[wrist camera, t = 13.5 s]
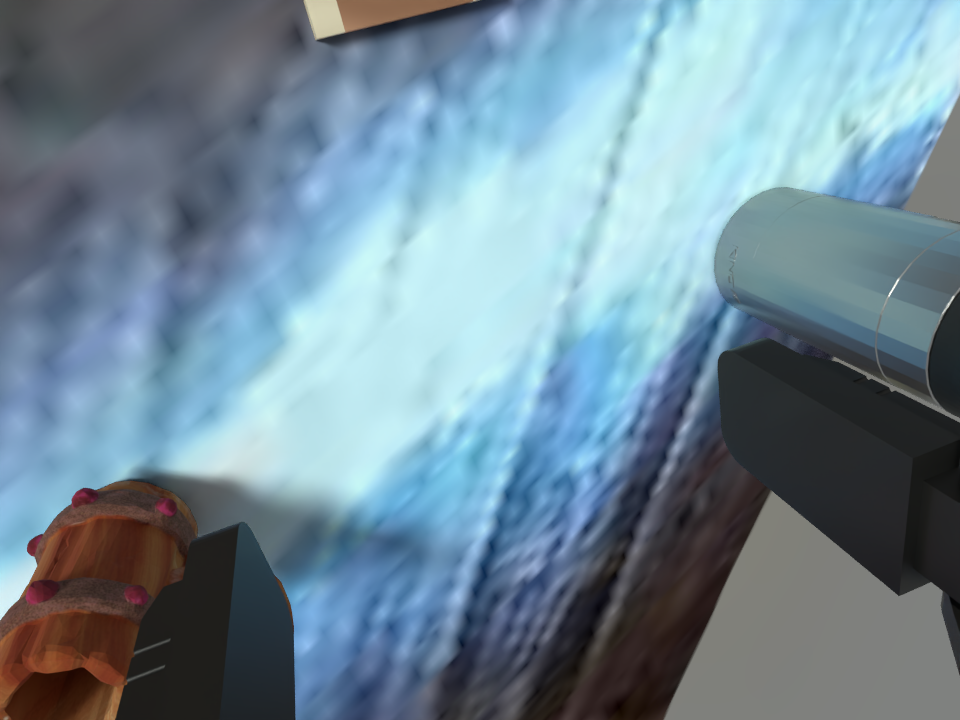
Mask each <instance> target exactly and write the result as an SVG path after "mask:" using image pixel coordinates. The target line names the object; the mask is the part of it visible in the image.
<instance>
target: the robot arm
mask: <svg viewBox="0 0 960 720" xmlns="http://www.w3.org/2000/svg"><path fill="white" fill-rule="evenodd" d="M714 273H715V279H716V283H717V286H718V288H719V291H720V293H721V294H722V296H723V297H724V298H725V300H726V301H727V302H728V303H730V304H731V305H732V306H734V307H735V308H737V309H739V310H741V311H743V312H745V313H747V314H749V315H751V316H753V317H755V318H757V319H759V320H761V321H763V322H765V323H767V324H769V325H771V326H773V327H775V328H777V329H779V330H781V331H783V332H785V333H787V334H789V335H791V336H793V337H795V338H797V339H799V340H802V341H804V342H806V343H808V344H810V345H812V346H814V347H816V348H818V349H820V350H822V351H824V352H826V353H828V354H830V355H832V356H834V357H836V358H839V359H840V360H842V361H844V362H846V363H848V364H851V365H853V366H855V367H857V368H859V369H861V370H863V371H865V372H867V373H869V374H871V375H873V376H875V377H877V378H879V379H881V380H883V381H885V382H887V383H889V384H891V385H893V386H895V387H897V388H900V389H902V390H904V391H906V392H908V393H910V394H912V395H914V396H916V397H918V398H921V399H922V400H924V401H927V402H929V403H930V404H933V405H935V406H937V407H939V408H941V409H943V410H945V411H947V412H949V413H951V414H953V415H955V416H957V417H959V418H960V222H956V221H952V220H947V219H942V218H937V217H935V216H930V215H925V214H920V213H915V212H910V211H905V210H900V209H895V208H890V207H885V206H880V205H875V204H870V203H865V202H860V201H855V200H850V199H846V198H841V197H836V196H831V195H826V194H818V193H813V192H808V191H803V190H798V189H793V188H788V187H785V188H774V189H770V190H767V191H764V192H762V193H760V194H758V195H756V196H754V197H753V198H751V199H750V200H749V201H747V202H746V203H745V204H744V205H742V206H741V207H740V208H739V209H738V211H737V212H736V213H735V214H734V215H733V216H732V217H731V219H730V220H729V222H728V224H727V225H726V227H725V229H724V230H723V232H722V235H721V237H720V240H719V242H718V245H717V249H716V254H715V262H714ZM718 381H719V397H720V412H721V428H722V434H723V438H724V441H725V443H726V446H727V447H728V449H729V451H730V453H731V454H732V456H733V457H734V459H735V460H736V461H737V462H738V463H739V464H740V465H741V466H743V467H744V468H745V469H746V470H747V471H749V472H750V473H751V474H752V475H753V476H755V477H756V478H757V479H758V480H760V481H761V482H762V483H763V484H764V485H766V486H767V487H768V488H769V489H770V490H772V491H773V492H774V493H775V494H776V495H778V496H779V497H780V498H781V499H782V500H784V501H785V502H786V503H787V504H789V505H790V506H791V507H792V508H794V509H795V510H796V511H797V512H798V513H799V514H801V515H802V516H803V517H804V518H805V519H807V520H808V521H809V522H810V523H811V524H813V525H814V526H815V527H816V528H818V529H819V530H820V531H821V532H822V533H824V534H825V535H826V536H827V537H829V538H830V539H831V540H832V541H833V542H834V543H836V544H837V545H838V546H839V547H840V548H842V549H843V550H844V551H845V552H847V553H848V554H849V555H850V556H851V557H853V558H854V559H855V560H856V561H857V562H859V563H860V564H861V565H862V566H864V567H865V568H866V569H867V570H868V571H870V572H871V573H872V574H873V575H874V576H875V577H877V578H878V579H879V580H880V581H882V582H883V583H884V584H885V585H886V586H888V587H889V588H890V589H891V590H893V591H894V592H895V593H896V594H897V595H898V596H900V595H903V594H905V593H907V592H909V591H912V590H914V589H916V588H918V587H921V586H923V585H925V584H927V583H930V582H932V583H933V584H935V585H936V586H937V587H939V588H940V589H941V590H942V591H943V593H942V601H941V610H942V614H943V617H944V621H945V625H946V628H947V631H948V635H949V638H950V642H951V646H952V650H953V653H954V657H955V660H956V664H957V667H958V671H959V674H960V423H959V422H957V421H955V420H953V419H951V418H949V417H947V416H945V415H943V414H941V413H939V412H937V411H935V410H933V409H931V408H929V407H927V406H925V405H923V404H921V403H919V402H917V401H915V400H913V399H911V398H909V397H907V396H905V395H903V394H901V393H899V392H897V391H893V392H891V391H890V389H889V387H887V386H885V385H883V384H881V383H879V382H877V381H875V380H873V379H870V380H868V379H867V378H866V376H865V375H863V374H861V373H859V372H857V371H855V370H853V369H851V368H849V367H847V366H845V365H843V364H841V363H839V362H835V361H831V360H826V359H822V358H818V357H813V356H809V355H805V354H804V355H801V354H799V353H797V352H795V351H793V350H791V349H789V348H787V347H785V346H784V345H782V344H780V343H778V342H776V341H774V340H772V339H769V338H761V339H758V340H755V341H753V342H750V343H747V344H744V345H741V346H739V347H736V348H733V349H730V350H727V351H725V352H723V353H722V354H721V355H720V357H719V359H718ZM133 652H134V657H132V658H131V661H130V665H129V669H128V673H127V676H126V680H127V685H124V688H123V692H122V695H121V699H120V703H119V707H118V711H117V714H116V718H115V720H295V678H294V634H293V626H292V620H291V616H290V612H289V608H288V605H287V602H286V599H285V597H284V594H283V592H282V590H281V588H280V586H279V584H278V582H277V580H276V578H275V576H274V574H273V572H272V570H271V568H270V566H269V564H268V562H267V560H266V558H265V556H264V554H263V552H262V550H261V548H260V546H259V544H258V542H257V540H256V538H255V536H254V534H253V533H252V531H251V529H250V528H249V526H248V525H247V524H246V523H244V522H241V523H238V524H235V525H232V526H230V527H227V528H224V529H221V530H218V531H216V532H213V533H210V534H207V535H204V536H202V537H199V538H196V539H193V540H192V541H191V543H190V545H189V550H188V554H187V559H186V564H185V569H184V574H183V579H182V580H180V581H178V582H175V583H172V584H170V585H167V586H164V587H163V588H162V590H161V591H160V593H159V594H158V596H157V597H156V599H155V600H154V602H153V603H152V605H151V606H150V607H149V609H148V610H147V612H146V613H145V615H144V616H143V618H142V620H141V623H140V627H139V631H138V635H137V639H136V642H135V646H134V650H133Z"/></svg>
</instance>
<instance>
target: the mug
mask: <svg viewBox="0 0 960 720" xmlns="http://www.w3.org/2000/svg"><path fill="white" fill-rule="evenodd" d="M197 533H198V528H197V523H196V521H195V519H194V517H193V515H192V513H191V510H190V509H189V508H188V506H187V505H186V504H185V503H184V502H183V501H182V500H181V499H180V498H179V497H177V496H176V495H175V494H173V493H172V492H171V491H168V490H165V489H162V488H160V487H157V486H154V485H152V484H150V483H145V482H137V481H121V482H115V483H112V484H109V485H108V486H106V487H104V488H101V489H98V490H93V489H90V488H83V489H81V490H79V491H77V492H76V493H75V495H74V496H73V498H72V504H71V505H69V506H68V507H66V508H65V509H64V510H63V511H62V512H61V513H59V514H58V515H57V516H56V518H55V519H54V520H53V521H52V523H51V524H50V526H49V527H48V528H47V530H46V531H45V533H44V534H40V535H38V536H36V537H34V538H33V539H32V540H30V541H29V543H28V546H27V552H28V553H29V554H30V555H31V556H34V557H35V559H36V562H37V565H38V566H37V568H36V570H35V572H34V574H33V576H32V578H31V580H30V582H29V584H28V585H27V587H26V588H25V590H24V592H23V594H22V595H21V597H20V599H19V600H18V601H17V602H16V603H15V604H14V605H13V606H12V607H11V608H10V609H9V610H8V611H7V613H6V614H5V615H4V616H3V618H2V619H1V620H0V720H115V718H116V714H117V711H118V707H119V703H120V699H121V695H122V692H123V688H124V685H127V680H126V676H127V673H128V669H129V665H130V661H131V658H132V657H134V652H133V650H134V646H135V642H136V639H137V635H138V631H139V627H140V623H141V620H142V618H143V616H144V615H145V613H146V612H147V610H148V609H149V607H150V606H151V605H152V603H153V602H154V600H155V599H156V597H157V596H158V594H159V593H160V591H161V590H162V588H163V587H164V586H167V585H170V584H172V583H175V582H178V581H180V580H182V579H183V574H184V569H185V564H186V559H187V554H188V550H189V545H190V543H191V541H192V540H193V539H196V538H197ZM274 576H275V575H274ZM275 578H276V580H277V582H278V584H279V586H280V588H281V590H282V592H283V594H284V597H285V599H286V602H287V605H288V608H289V612H290V616H291V620H292V626H293V634H294V625H293V617H292V610H291V605H290V602H289V600H288V597H287V595H286V592H285V590H284V588H283V585H282V583H281V582H280V580H279V579H278V578H277V577H276V576H275Z"/></svg>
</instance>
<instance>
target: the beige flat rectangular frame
mask: <svg viewBox="0 0 960 720" xmlns="http://www.w3.org/2000/svg"><path fill="white" fill-rule="evenodd" d="M476 1H480V0H304V4H305V7H306V10H307V13H308V17H309V20H310V23H311V27H312V30H313V33H314V36H315V40H320V39H324V38H328V37H332V36H336V35H340V34H344V33H349V32H353V31H357V30H361V29H365V28H369V27H373V26H377V25H381V24H386V23H390V22H394V21H398V20H402V19H406V18H410V17H414V16H418V15H423V14H427V13H431V12H435V11H439V10H443V9H447V8H451V7H455V6H460V5H464V4H468V3H472V2H476Z"/></svg>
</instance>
